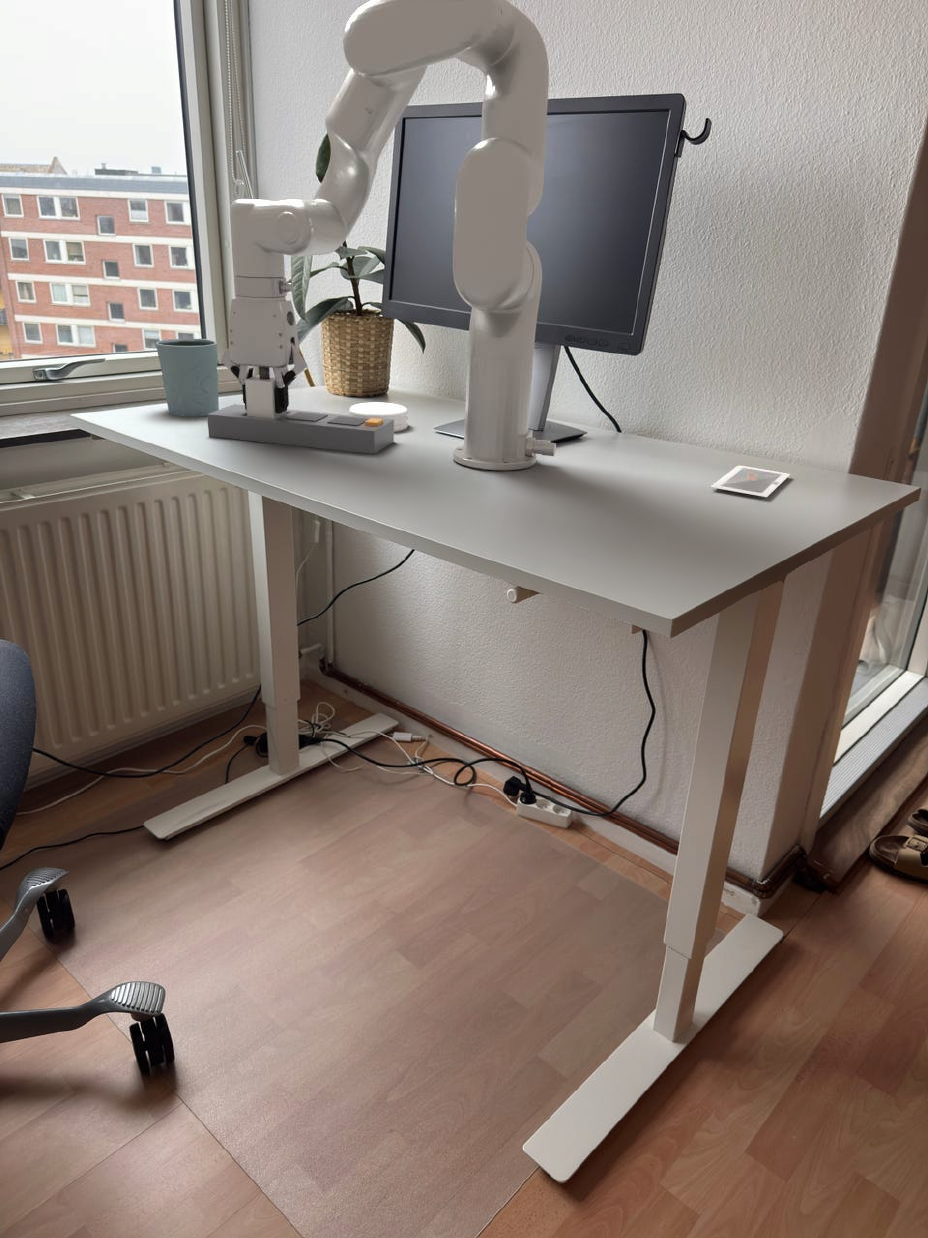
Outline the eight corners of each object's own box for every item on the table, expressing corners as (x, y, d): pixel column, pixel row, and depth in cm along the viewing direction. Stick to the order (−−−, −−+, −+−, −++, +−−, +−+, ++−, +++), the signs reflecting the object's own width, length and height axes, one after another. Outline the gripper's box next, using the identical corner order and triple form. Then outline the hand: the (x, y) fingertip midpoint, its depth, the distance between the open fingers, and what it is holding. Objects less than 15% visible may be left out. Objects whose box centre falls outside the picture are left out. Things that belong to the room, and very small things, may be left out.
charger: (286, 433, 145) (283, 364, 140) (274, 439, 141) (270, 368, 136) (261, 431, 146) (257, 362, 141) (248, 436, 142) (244, 366, 137)
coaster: (349, 433, 147) (349, 412, 146) (349, 421, 156) (348, 401, 155) (409, 434, 149) (409, 413, 147) (405, 421, 158) (405, 401, 156)
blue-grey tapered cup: (221, 417, 154) (216, 346, 149) (160, 417, 151) (153, 345, 147) (222, 405, 163) (217, 338, 158) (164, 406, 160) (157, 337, 155)
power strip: (393, 441, 143) (393, 415, 141) (374, 453, 135) (374, 427, 133) (236, 425, 149) (234, 400, 147) (208, 436, 141) (206, 410, 139)
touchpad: (708, 494, 124) (711, 479, 123) (737, 472, 136) (739, 458, 135) (765, 504, 120) (768, 489, 119) (789, 481, 132) (792, 466, 131)
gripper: (321, 291, 135) (324, 410, 143) (222, 284, 139) (229, 401, 147) (301, 294, 129) (305, 419, 136) (197, 287, 132) (206, 409, 140)
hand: (266, 409), depth 141 cm, fingers closed on charger, 4 cm apart
